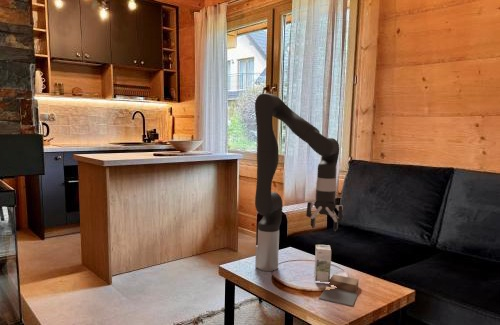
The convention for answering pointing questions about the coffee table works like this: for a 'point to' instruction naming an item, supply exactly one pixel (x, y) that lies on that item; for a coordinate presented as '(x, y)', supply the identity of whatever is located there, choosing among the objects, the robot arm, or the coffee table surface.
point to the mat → (339, 296)
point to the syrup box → (322, 263)
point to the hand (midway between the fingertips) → (324, 229)
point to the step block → (344, 283)
